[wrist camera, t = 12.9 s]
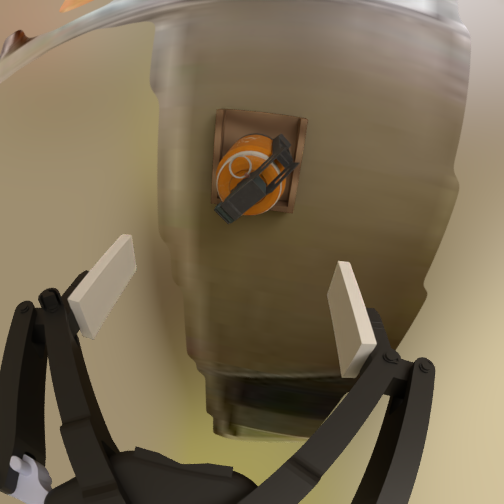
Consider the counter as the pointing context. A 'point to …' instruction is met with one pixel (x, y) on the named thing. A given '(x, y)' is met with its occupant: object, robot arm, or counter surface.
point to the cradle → (248, 122)
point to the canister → (252, 175)
